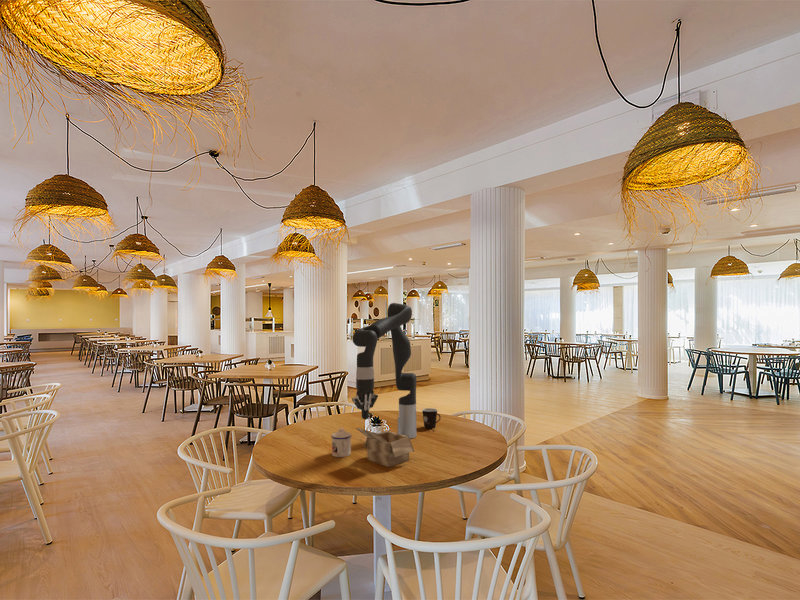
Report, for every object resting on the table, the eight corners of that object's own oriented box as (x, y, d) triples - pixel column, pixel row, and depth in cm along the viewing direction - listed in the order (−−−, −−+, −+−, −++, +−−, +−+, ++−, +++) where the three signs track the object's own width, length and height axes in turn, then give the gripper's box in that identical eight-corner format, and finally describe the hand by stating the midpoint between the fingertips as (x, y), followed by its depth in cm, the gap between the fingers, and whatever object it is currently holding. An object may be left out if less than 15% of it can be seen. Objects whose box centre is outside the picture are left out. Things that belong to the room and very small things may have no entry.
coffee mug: (420, 426, 242) (420, 408, 242) (434, 425, 245) (433, 407, 245) (427, 431, 231) (427, 413, 231) (441, 430, 233) (441, 411, 234)
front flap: (366, 436, 185) (355, 428, 180) (367, 435, 185) (356, 427, 181) (387, 442, 175) (375, 433, 171) (387, 441, 175) (376, 433, 171)
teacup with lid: (329, 452, 195) (329, 427, 195) (348, 450, 199) (348, 425, 199) (336, 460, 184) (336, 434, 185) (355, 457, 188) (355, 431, 188)
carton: (363, 458, 187) (362, 434, 188) (388, 450, 198) (388, 428, 199) (394, 469, 173) (393, 444, 173) (419, 460, 184) (419, 436, 184)
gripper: (371, 375, 184) (371, 414, 183) (347, 378, 175) (347, 420, 174) (382, 376, 179) (382, 417, 178) (358, 379, 169) (358, 423, 169)
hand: (365, 418), depth 176 cm, fingers closed
